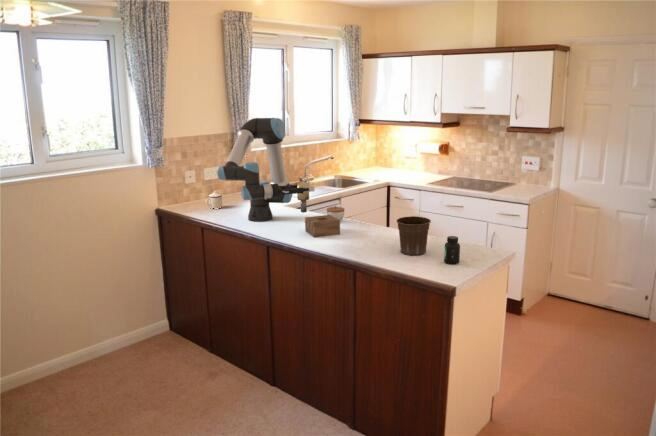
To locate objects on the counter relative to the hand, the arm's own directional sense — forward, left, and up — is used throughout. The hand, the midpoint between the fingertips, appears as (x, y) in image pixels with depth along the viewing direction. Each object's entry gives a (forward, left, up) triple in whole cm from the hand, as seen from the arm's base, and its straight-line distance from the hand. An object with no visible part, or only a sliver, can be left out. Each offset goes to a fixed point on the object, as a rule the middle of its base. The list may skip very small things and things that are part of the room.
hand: (312, 187), depth 293 cm
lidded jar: (-21, +22, -26) cm, 40 cm away
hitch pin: (0, -5, -13) cm, 14 cm away
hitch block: (+1, +5, -26) cm, 26 cm away
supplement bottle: (+74, +40, -26) cm, 88 cm away
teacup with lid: (-90, -39, -26) cm, 101 cm away
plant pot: (+53, +32, -26) cm, 68 cm away
